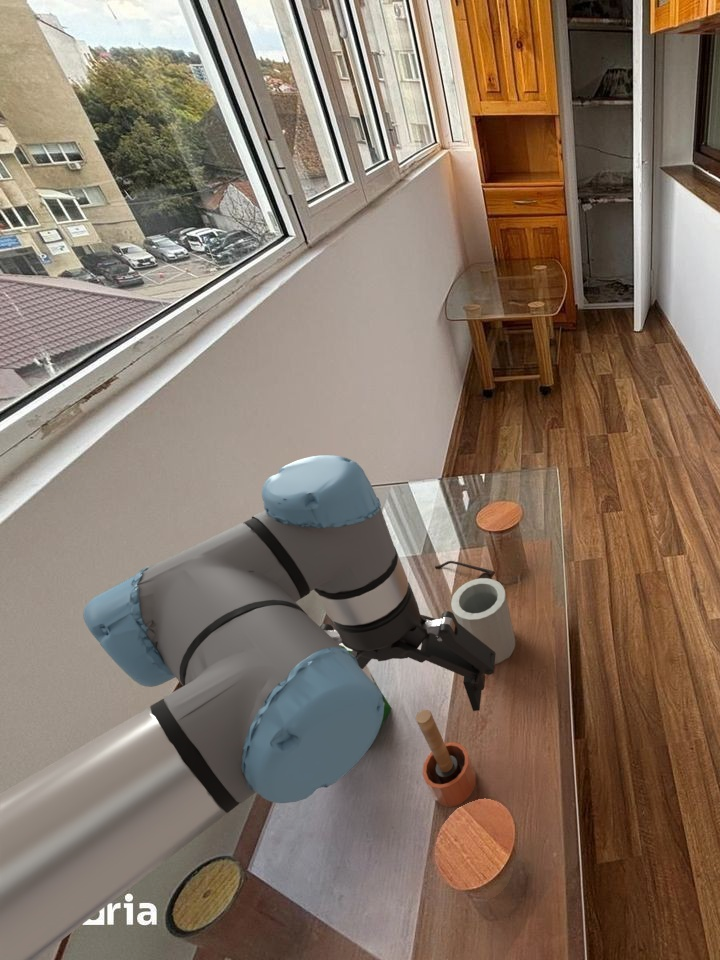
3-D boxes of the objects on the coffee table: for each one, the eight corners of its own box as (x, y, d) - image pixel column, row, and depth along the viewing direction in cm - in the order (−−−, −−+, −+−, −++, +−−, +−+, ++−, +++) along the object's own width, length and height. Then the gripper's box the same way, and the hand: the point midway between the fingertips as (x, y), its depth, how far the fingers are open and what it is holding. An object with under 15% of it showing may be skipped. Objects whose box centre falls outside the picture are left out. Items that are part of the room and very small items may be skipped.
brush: (454, 799, 75) (421, 732, 63) (440, 787, 76) (405, 719, 64) (469, 780, 77) (441, 712, 65) (455, 769, 78) (425, 700, 66)
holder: (453, 817, 74) (443, 797, 69) (424, 792, 76) (413, 771, 72) (485, 778, 78) (477, 757, 73) (456, 755, 80) (447, 734, 76)
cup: (491, 676, 91) (477, 628, 83) (455, 652, 95) (439, 604, 86) (525, 640, 97) (516, 591, 89) (490, 619, 101) (479, 570, 93)
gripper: (500, 558, 55) (524, 668, 68) (250, 580, 52) (325, 691, 65) (495, 614, 49) (522, 723, 62) (213, 643, 46) (303, 752, 59)
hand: (421, 707), depth 64 cm, fingers open, 13 cm apart
